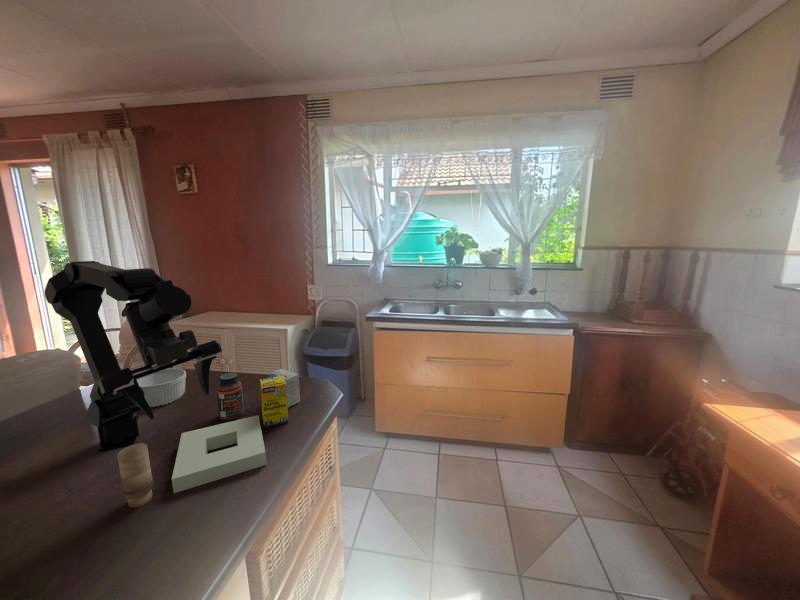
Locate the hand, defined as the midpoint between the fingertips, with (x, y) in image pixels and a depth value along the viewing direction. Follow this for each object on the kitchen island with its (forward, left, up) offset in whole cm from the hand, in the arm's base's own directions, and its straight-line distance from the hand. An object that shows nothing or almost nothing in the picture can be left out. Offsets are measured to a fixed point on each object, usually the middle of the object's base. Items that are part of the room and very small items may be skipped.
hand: (181, 406), depth 60 cm
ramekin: (-10, +40, -15) cm, 44 cm away
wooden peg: (-7, -4, -15) cm, 17 cm away
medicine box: (+22, +21, -15) cm, 34 cm away
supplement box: (+18, +12, -15) cm, 26 cm away
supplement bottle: (+8, +20, -15) cm, 27 cm away
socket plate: (+6, +3, -15) cm, 16 cm away
